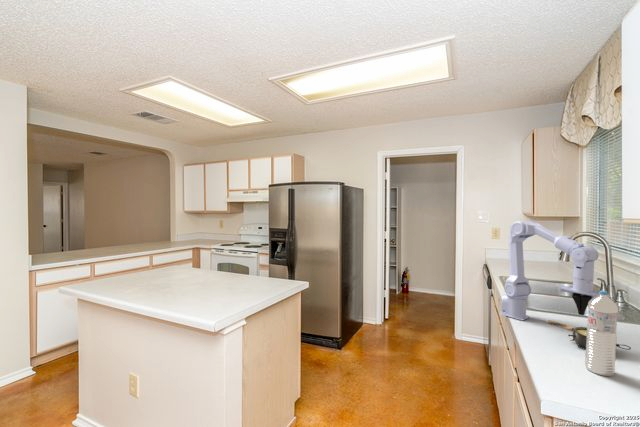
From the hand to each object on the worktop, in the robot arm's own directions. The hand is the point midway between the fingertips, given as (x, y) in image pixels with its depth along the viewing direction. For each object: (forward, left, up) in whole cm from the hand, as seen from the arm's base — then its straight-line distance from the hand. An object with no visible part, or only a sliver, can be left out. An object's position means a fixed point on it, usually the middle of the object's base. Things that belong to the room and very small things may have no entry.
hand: (581, 314), depth 116 cm
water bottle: (+9, -22, -11) cm, 26 cm away
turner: (-6, +12, -10) cm, 17 cm away
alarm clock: (-2, -4, -8) cm, 9 cm away
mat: (+5, 0, -10) cm, 11 cm away
